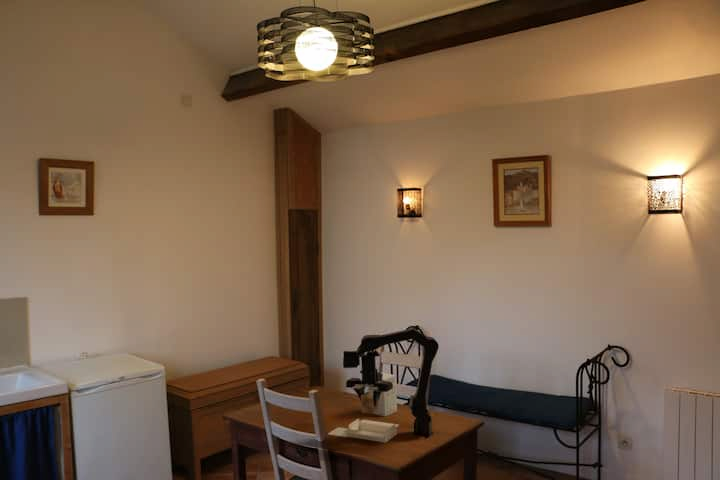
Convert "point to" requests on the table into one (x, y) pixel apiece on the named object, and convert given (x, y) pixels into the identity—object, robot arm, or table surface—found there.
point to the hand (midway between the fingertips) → (369, 405)
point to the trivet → (339, 432)
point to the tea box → (368, 403)
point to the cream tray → (372, 430)
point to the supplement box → (386, 397)
